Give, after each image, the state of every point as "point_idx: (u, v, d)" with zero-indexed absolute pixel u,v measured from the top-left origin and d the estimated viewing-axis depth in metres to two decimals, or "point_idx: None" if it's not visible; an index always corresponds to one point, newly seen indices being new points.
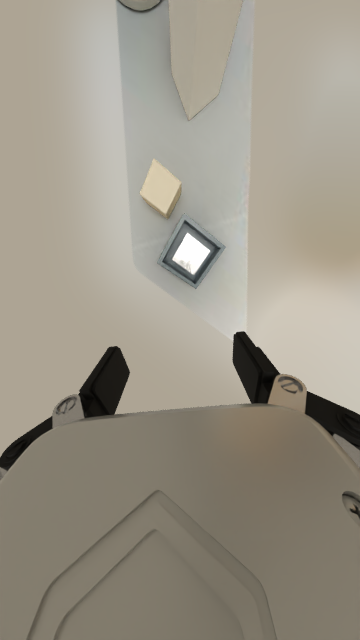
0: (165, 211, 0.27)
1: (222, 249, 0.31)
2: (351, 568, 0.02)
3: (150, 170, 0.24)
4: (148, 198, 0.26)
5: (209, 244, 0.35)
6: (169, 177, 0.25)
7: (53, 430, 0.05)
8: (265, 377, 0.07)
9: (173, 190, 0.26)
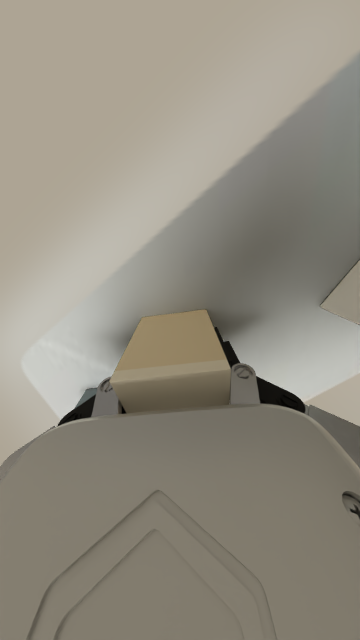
0: None
1: None
2: (351, 568, 0.02)
3: (193, 376, 0.06)
4: (126, 402, 0.07)
5: None
6: None
7: (53, 430, 0.05)
8: None
9: None
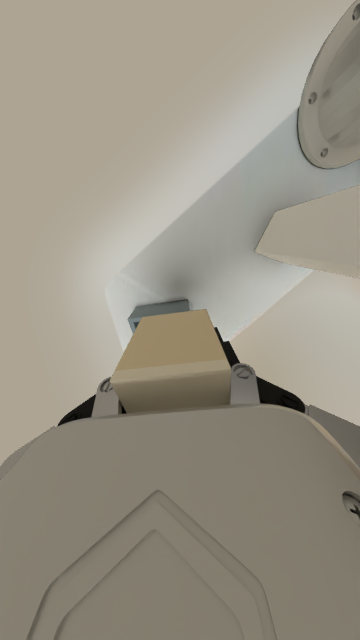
0: None
1: None
2: (351, 568, 0.02)
3: (193, 375, 0.06)
4: (127, 402, 0.07)
5: None
6: None
7: (53, 430, 0.05)
8: None
9: None
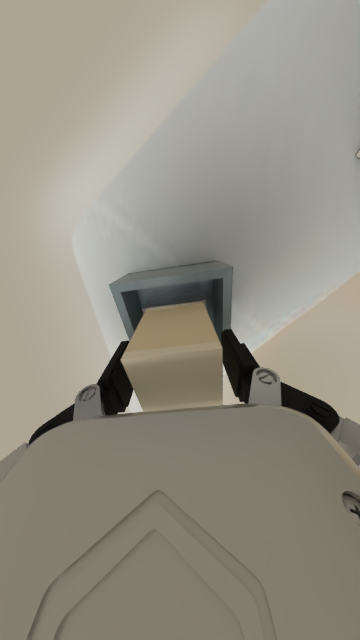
0: None
1: None
2: (351, 568, 0.02)
3: (191, 354, 0.08)
4: (134, 379, 0.08)
5: None
6: (212, 391, 0.09)
7: (53, 430, 0.05)
8: (245, 370, 0.08)
9: None
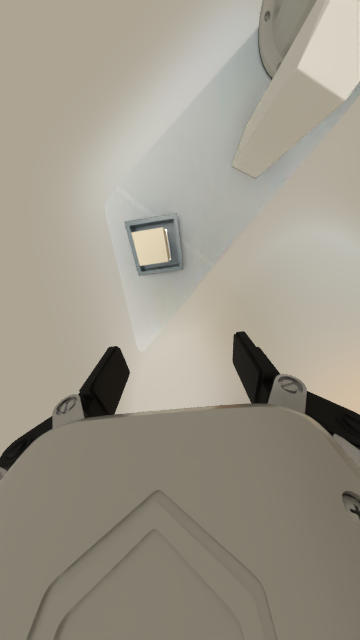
0: (141, 264, 0.27)
1: (179, 268, 0.34)
2: (351, 568, 0.02)
3: (153, 230, 0.24)
4: (135, 242, 0.25)
5: (177, 256, 0.37)
6: (162, 249, 0.26)
7: (53, 430, 0.05)
8: (265, 377, 0.07)
9: (158, 259, 0.27)
